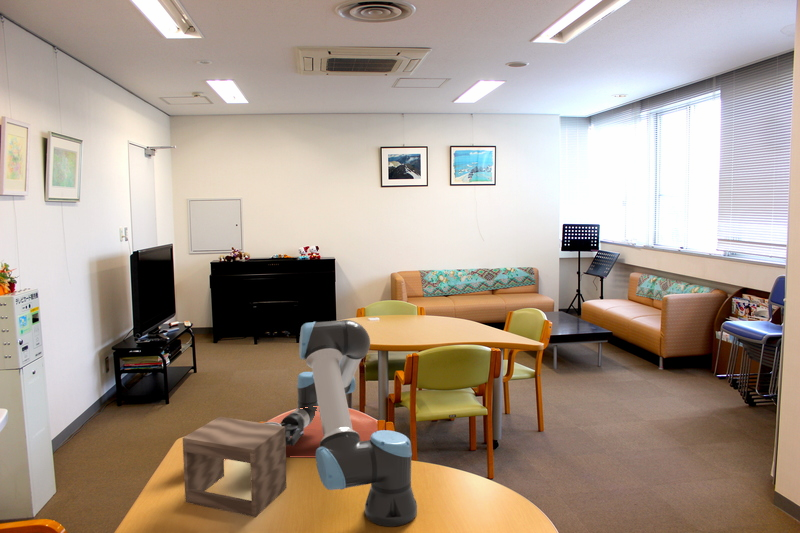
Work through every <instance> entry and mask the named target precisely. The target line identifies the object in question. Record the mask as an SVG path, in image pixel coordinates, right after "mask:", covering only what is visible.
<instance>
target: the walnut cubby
mask: <svg viewBox="0 0 800 533" xmlns="http://www.w3.org/2000/svg"><path fill="white" fill-rule="evenodd" d="M265 423H266V422H257V421H250V420H244V419H237V418H230V417H224V416H223V417H222V416H218V417H217V418H215V419H213V420H211V421H209V422H207V423H206V424H204V425H203V426H201V427H198V428H197V429H195V430H193V431H192V432H191V433H189V434H187V435H185V436H184V437H182V456H183V477H184V479H183V482H184V502H185V504H192V505H196V506H199V507H200V506H201V507H205V508H211V509H214V510H215V509H216V510H220V511H224V512H228V513H233V514H237V515H242V516H243V515H244V516H249V517H253V518H257V517H258V516H259V514H261V513H262V512H263V511H264V510H265V509H267V507H268V506H269V505H270V504H272V502H273V501H275V500H276V499H277V497H279V496H280V495H281V494H282V493H283V492H284V491H285V490H286V489H287V462H286V461H287V454H286V451H287V449H286V448H287V446H286V441H285V426H278V425H271V424H265ZM224 459H225V460H230V461H235V462H239V463H240V462H241V463H247V464H250V490H251V491H250V493H251V495H250V499H251V500H249V499H245V498H239V497H235V496H230V495H224V494H221V493H215V492H210V491H206V490H208V489H209V488H211V487H212V486H213V485H214V483H215V484H216V483H217V482H219V481H220V480H221V479H222V477H223V478H224V477H225V463H224V462H225V460H224ZM219 479H220V480H219ZM218 480H219V481H218Z"/></svg>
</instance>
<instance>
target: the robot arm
mask: <svg viewBox="0 0 800 533" xmlns="http://www.w3.org/2000/svg"><path fill="white" fill-rule="evenodd" d="M299 335H300V336H299V345H298V348H299V350H298V352H299V353H298V354H299V359H300V360H303V361H304V360H305V362H306V366H308V367H309V368H310V369H311V370H312V371H303V372H301V373H299V374H298V375H297V385H296V388H297V408H296V409H295V411H294V410H293V411H291V412H290V413H289V414H288V415H286V416H285V417H283V419H281V420H282V421H281V422H280V423H279V424H281V426H285V441H286V447H288V446H289V445H290V447H293V446H295V444H297V442H298V441H299V439H300V438H301V437H302V436H304V435H305V434H304V429H305V428H306V427H308V426H309V425H311V424H312V423H313V422H312V420H313V418H314V416H315V411H317V410H316V409H317V407H313V406H319V412H320V416H319V417H320V423H321V429H322V434H323V437H322V439H321V440H320V441H319V447H318V448H316V449H315V462H316V468H317V472H318V475H319V479H320V481H321V483H322V485H323V487H324V488H325V489H327V490H329V491H335V490H345V489H348V488H353V487H359V486H360V487H361V486H364V485H365V486H366V485H370V489H369V491H368V495H367V498H366V500H365V504H364V514H365V517H366V518H367V520H369V521H370V522H371V523H373V524H375V525H378V526H382V527H399V526H403V525H406V524H409V523H410V522H412V521H413V520H414V519H415V518H416V517H415V516H417V514H418V504H417V503H418V502H417V499H415V495H414V492H413V489H412V488H413V487H412V455H413V452H412V444H411V443H412V442H411V440H410V439H409V437H408V436H407V435H405V434H403V433H401V432H398V431H394V430H387V429H383V430H377V431H375V432H372V433H371V435H370V437H369V439H368V440H362V441H361V437H360V434H359V432H357V431H356V430H354V429H353V424H352V418H351V414H350V411H349V405H348V401H347V395H348V394H352V393H354V392H355V390H356V379H355V374H356V373H357V370H358V368H359V365H360V363H361V362H362V359H364V358H365V357H366V356H367V354H368V353H369V351H370V347H371V339H370V335H369V333H368V331H367V330H366V328H365V327H364V326H363V325H362V324H360V323H358V322H356V321H354V320H350V319H341V320H331V321H330V320H329V321H328V320H327V321H313V322H305V323H303V324H302V325H301V327H300V333H299ZM305 407H308V408H305ZM300 408H303V409H300ZM311 422H312V423H311Z"/></svg>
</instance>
